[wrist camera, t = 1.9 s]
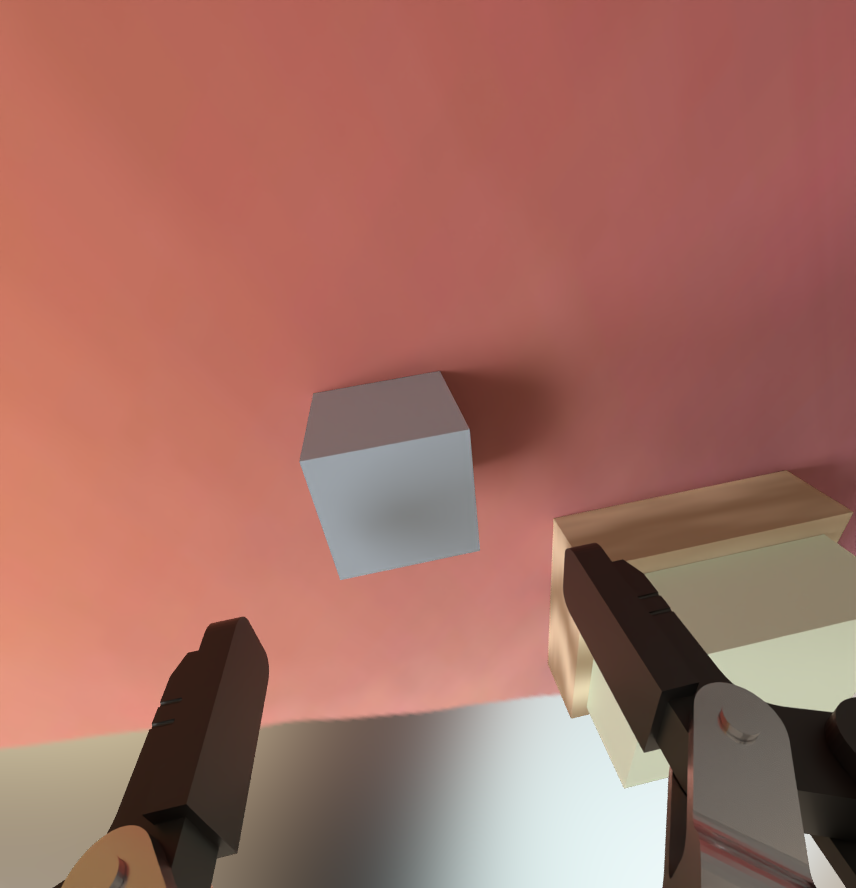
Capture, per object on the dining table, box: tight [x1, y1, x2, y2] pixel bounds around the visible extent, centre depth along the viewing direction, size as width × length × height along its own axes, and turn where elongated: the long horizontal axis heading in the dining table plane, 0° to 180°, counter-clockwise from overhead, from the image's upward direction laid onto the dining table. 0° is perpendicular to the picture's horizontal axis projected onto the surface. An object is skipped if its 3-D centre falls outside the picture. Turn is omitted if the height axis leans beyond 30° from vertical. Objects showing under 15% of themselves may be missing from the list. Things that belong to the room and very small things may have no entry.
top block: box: [587, 534, 856, 788], centre depth 21 cm, size 11×11×4 cm
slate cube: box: [299, 371, 480, 580], centre depth 15 cm, size 5×5×5 cm
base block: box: [548, 470, 853, 718], centre depth 24 cm, size 13×13×4 cm
